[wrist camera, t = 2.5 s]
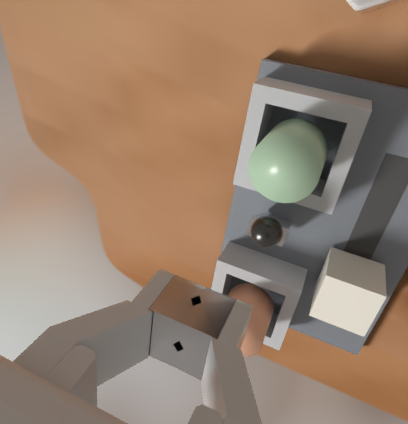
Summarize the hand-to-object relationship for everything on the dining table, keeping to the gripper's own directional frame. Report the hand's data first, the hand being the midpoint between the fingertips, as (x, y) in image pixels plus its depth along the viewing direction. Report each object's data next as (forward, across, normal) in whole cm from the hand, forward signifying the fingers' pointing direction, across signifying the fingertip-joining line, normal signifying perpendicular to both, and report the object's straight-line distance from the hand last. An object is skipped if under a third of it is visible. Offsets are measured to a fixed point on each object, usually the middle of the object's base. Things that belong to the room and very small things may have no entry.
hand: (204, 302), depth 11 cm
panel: (+19, -3, +6) cm, 20 cm away
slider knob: (+18, -7, +10) cm, 21 cm away
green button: (+15, 0, 0) cm, 15 cm away
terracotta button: (+15, 0, +14) cm, 21 cm away
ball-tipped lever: (+17, 0, +7) cm, 19 cm away
